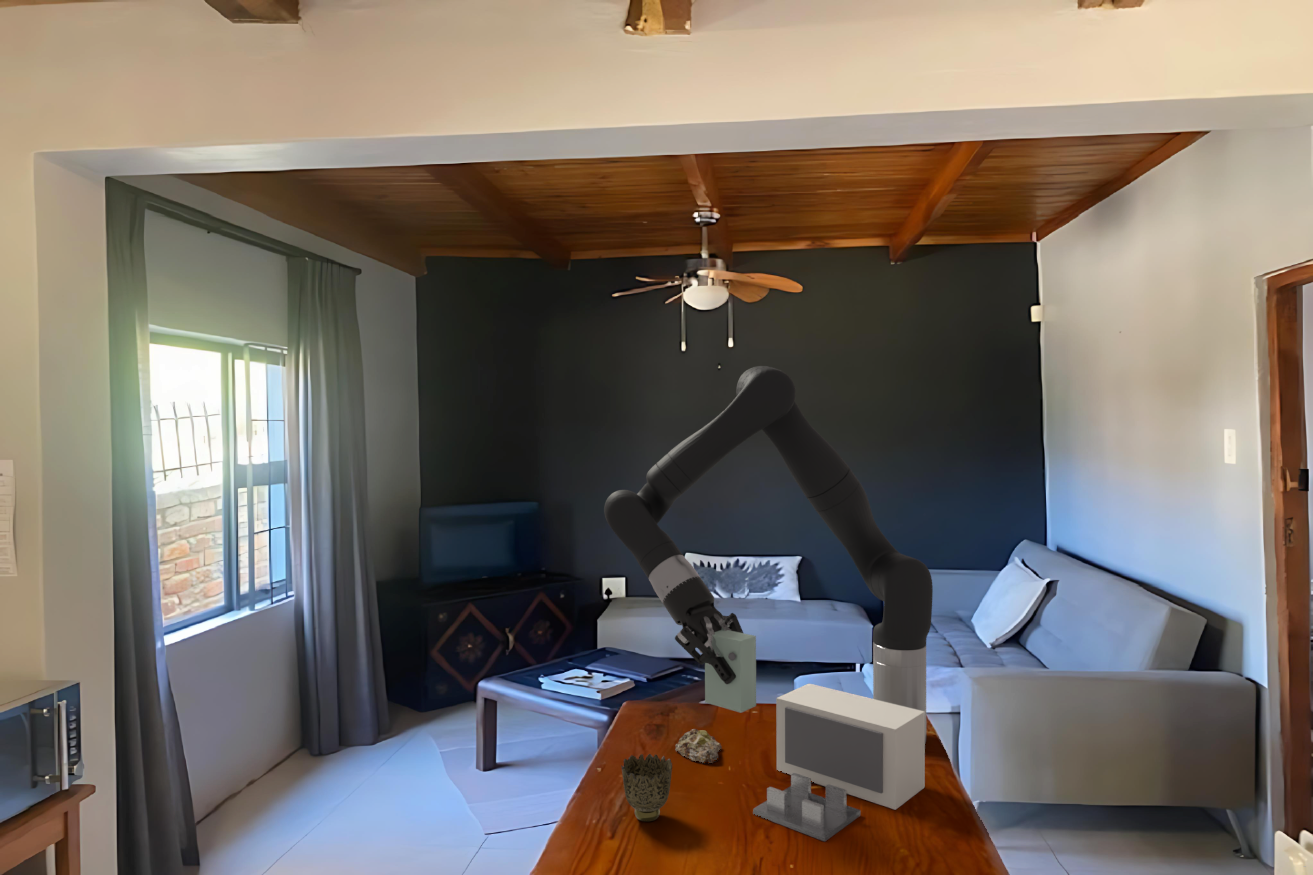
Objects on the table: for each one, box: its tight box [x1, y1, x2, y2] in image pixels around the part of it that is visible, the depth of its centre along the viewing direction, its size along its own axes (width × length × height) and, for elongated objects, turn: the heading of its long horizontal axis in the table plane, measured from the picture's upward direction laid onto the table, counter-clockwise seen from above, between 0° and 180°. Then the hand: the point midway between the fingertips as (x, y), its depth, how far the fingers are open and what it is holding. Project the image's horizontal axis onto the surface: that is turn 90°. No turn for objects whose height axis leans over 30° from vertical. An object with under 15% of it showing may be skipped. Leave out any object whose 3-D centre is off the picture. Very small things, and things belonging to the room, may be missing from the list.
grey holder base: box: [752, 773, 861, 842], centre depth 122 cm, size 10×12×4 cm
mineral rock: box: [674, 728, 722, 764], centre depth 145 cm, size 11×4×8 cm
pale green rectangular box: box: [704, 630, 757, 713], centre depth 131 cm, size 5×7×11 cm
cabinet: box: [775, 683, 926, 810], centre depth 134 cm, size 10×21×12 cm, turn 48°
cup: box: [620, 753, 673, 822], centre depth 122 cm, size 8×7×8 cm
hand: (740, 677), depth 130 cm, fingers closed on pale green rectangular box, 4 cm apart
